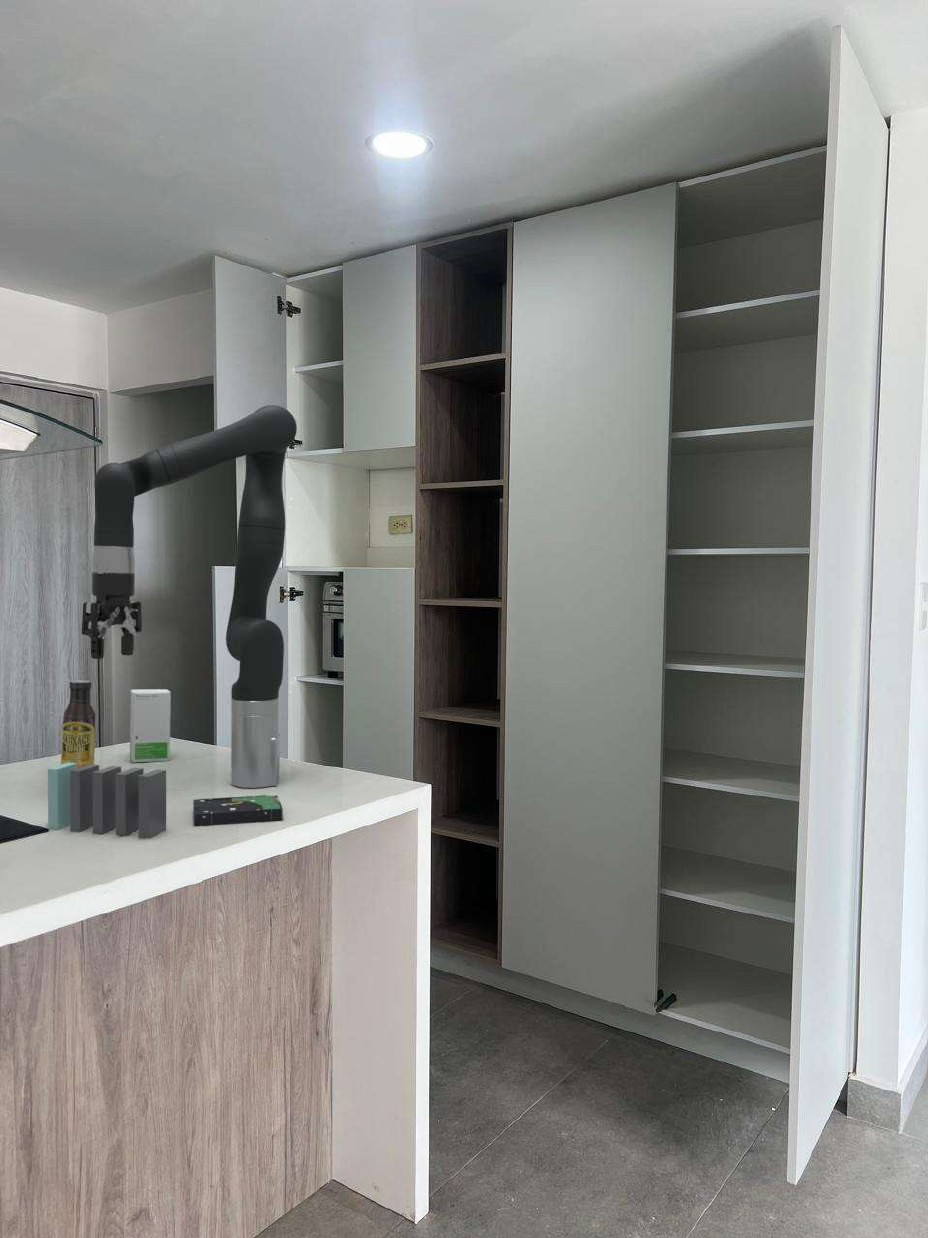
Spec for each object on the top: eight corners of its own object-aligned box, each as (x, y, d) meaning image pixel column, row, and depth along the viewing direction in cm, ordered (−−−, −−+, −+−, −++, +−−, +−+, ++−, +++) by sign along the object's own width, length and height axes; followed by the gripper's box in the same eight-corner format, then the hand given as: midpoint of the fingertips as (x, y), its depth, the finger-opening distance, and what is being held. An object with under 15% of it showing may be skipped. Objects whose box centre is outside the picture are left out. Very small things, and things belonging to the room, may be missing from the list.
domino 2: (99, 824, 153) (99, 765, 152) (80, 832, 148) (79, 771, 148) (90, 823, 153) (89, 764, 153) (70, 831, 148) (70, 770, 148)
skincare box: (131, 763, 200) (131, 693, 199) (129, 757, 206) (128, 689, 205) (171, 760, 203) (171, 691, 202) (167, 755, 209) (167, 687, 208)
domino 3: (121, 826, 152) (121, 766, 151) (102, 834, 147) (102, 773, 146) (112, 825, 152) (111, 766, 152) (92, 833, 147) (92, 772, 147)
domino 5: (166, 830, 150) (166, 770, 149) (148, 839, 145) (148, 776, 144) (156, 829, 150) (156, 769, 150) (138, 838, 145) (138, 776, 145)
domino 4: (143, 828, 151) (143, 768, 150) (125, 836, 146) (125, 775, 145) (134, 827, 151) (133, 767, 151) (115, 835, 146) (115, 774, 146)
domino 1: (77, 821, 154) (77, 763, 153) (57, 830, 149) (57, 769, 149) (68, 821, 154) (68, 762, 154) (48, 829, 150) (47, 768, 149)
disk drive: (194, 830, 152) (284, 823, 157) (193, 814, 152) (283, 807, 156) (192, 814, 162) (277, 808, 166) (192, 799, 162) (277, 792, 166)
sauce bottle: (57, 781, 182) (56, 682, 181) (65, 774, 188) (64, 679, 187) (91, 781, 183) (91, 682, 182) (98, 774, 189) (98, 678, 188)
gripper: (120, 571, 179) (119, 653, 180) (70, 569, 166) (69, 658, 166) (153, 572, 177) (152, 655, 178) (105, 570, 163) (104, 661, 164)
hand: (112, 656), depth 172 cm, fingers open, 8 cm apart
